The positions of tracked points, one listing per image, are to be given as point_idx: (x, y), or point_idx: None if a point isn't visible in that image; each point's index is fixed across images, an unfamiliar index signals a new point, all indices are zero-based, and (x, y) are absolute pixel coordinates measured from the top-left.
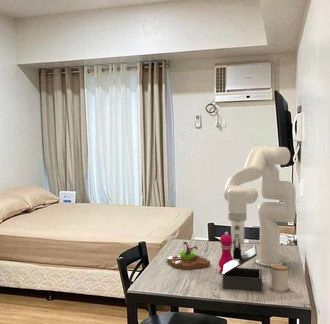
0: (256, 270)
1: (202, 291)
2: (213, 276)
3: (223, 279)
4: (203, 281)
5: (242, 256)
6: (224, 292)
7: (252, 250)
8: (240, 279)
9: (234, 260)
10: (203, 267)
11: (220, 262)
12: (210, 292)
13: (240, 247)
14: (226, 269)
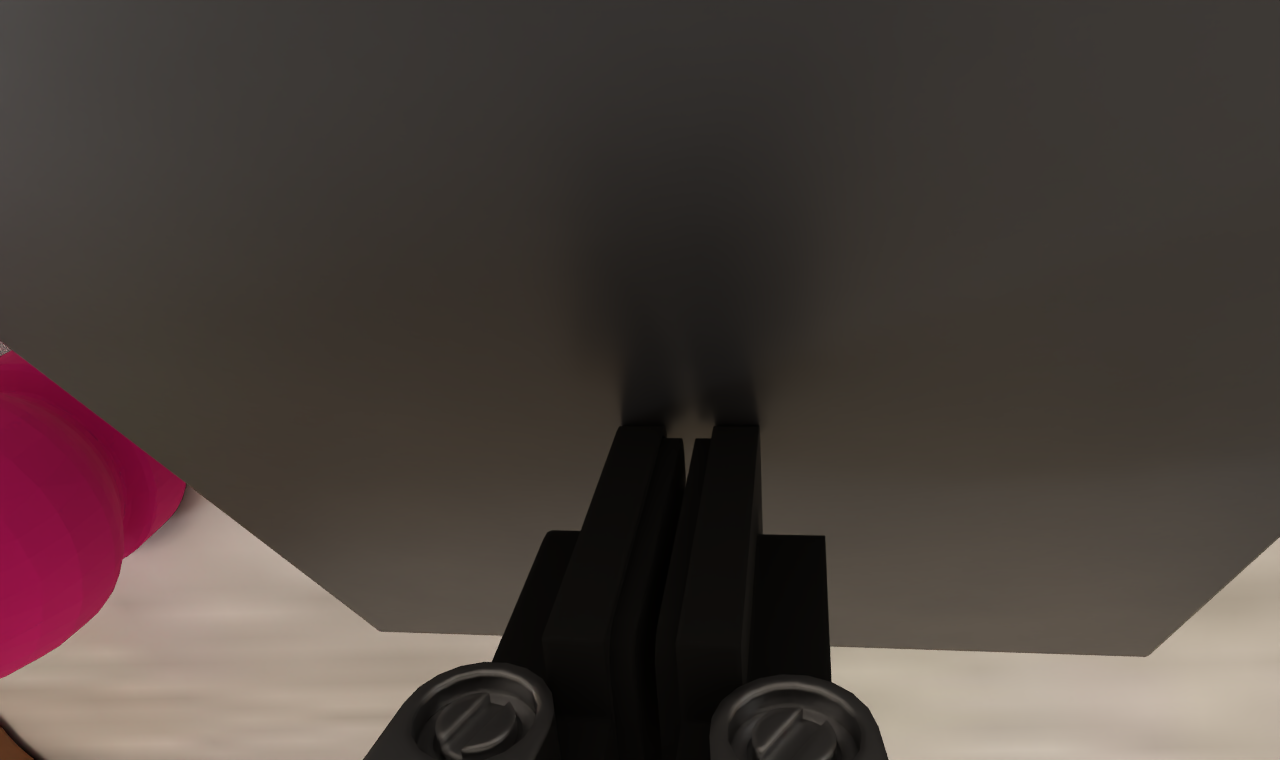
0: None
1: (1171, 721)
2: (344, 607)
3: None
4: None
5: (491, 392)
6: None
7: (296, 14)
8: None
9: (466, 530)
10: (9, 738)
11: (48, 648)
12: (1205, 622)
13: (541, 748)
14: (957, 620)
